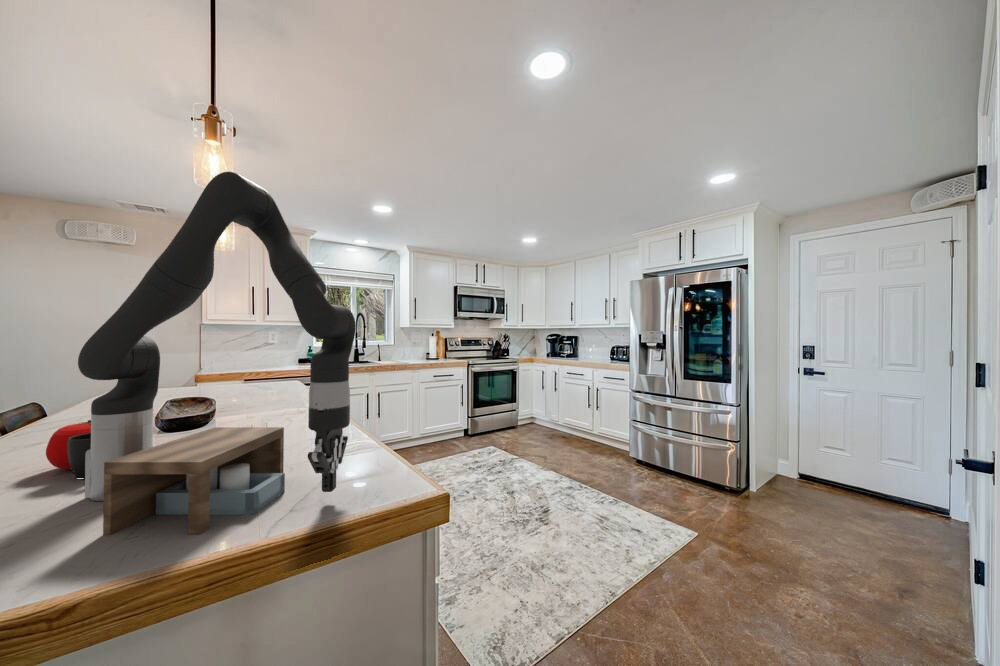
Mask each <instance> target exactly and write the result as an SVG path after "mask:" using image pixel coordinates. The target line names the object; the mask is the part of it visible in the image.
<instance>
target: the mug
mask: <svg viewBox="0 0 1000 666" xmlns="http://www.w3.org/2000/svg"><path fill="white" fill-rule="evenodd" d="M90 449H91V433H87V434H81V435H77V436H73V437H70V438H68V440H67V454H68V459H69V463H70V466H71V469H70V470H71V471H72V473H73V475H74V478H75V477H76V478H85V454H86V451H87V450H90ZM76 478H75V479H76Z"/></svg>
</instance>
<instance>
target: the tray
mask: <svg viewBox="0 0 1000 666" xmlns="http://www.w3.org/2000/svg"><path fill="white" fill-rule="evenodd" d="M285 478H286V475H285V472H283V473H250V464H247V463H238V464H232V465H228V466H225V467H223V468H221V469H220V473H217V467H215V468H213V469H211V470H210V514H209V516H212V515H213V516H220V515H222V516H223V515H225V516H226V515H229V516H231V515H233V516H234V515H235V516H237V515H238V516H239V515H240V516H244V515H245V516H246V515H250V516H251V515H255V514H257V513H259V511H261V510H262V509H263V508H265V507H266V506H267V505H269V504H270V503H272V502H273V501H275V500H276V499H277V498H278V497H280V496H281V495H282V493H283V492H284V493H285V489H286V488H285V483H286V482H285V481H286V479H285ZM188 487H189V474H186V480H184V481H182V482H179V483H177V484H175V485H173V486H171V487H168V488H166V489H164V490H162V491H160V492H158V493H156V512H155V516H178V515H179V516H184V515H185V516H188ZM284 493H283V494H284ZM279 495H280V496H279ZM275 498H276V499H275ZM271 501H272V502H271Z"/></svg>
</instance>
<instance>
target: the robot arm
mask: <svg viewBox="0 0 1000 666" xmlns="http://www.w3.org/2000/svg"><path fill="white" fill-rule="evenodd" d="M231 223H235V224H238V225H239V226H242V227H245V228H246V227H247V228H248V229H249V230H250V231H251V232H253V234H254V235H256V236H257V237H258V239H259V240H260V241H261V242H262V243H263V245H264V247H265V249H266V251H267V254H268V259H269V265H270V268H271V271H272V273H273V274H274V277H275V278H276V280H277V282H278V283H279V284H280V286H281V287H282V288H283V290H284V291H285V293H286V294H287V295H288V297H289V298H290V299H291V300H292V304H293V308H294V311H295V313H296V316H297V318H298V321H299V323H300V325H301V327H302V328H303V329H304V330H305V332H306V333H307V334H309V335H310V336H311V337H313V338H314V339H318V340H322V343H321V346H320V347H321V348H320V350H319V351H317V352H314V354H313V355H312V356H311V359H310V369H309V371H310V377H309V378H310V379H309V381H310V382H309V383H310V385H309V391H308V420H307V421H308V429H309V430H311V431H314V432H315V438H314V449H313V451H308V453H307V459H308V461H309V462H310V465H311V467H312V469H313V471H314V473H315V474H321V491H322V493H332V492H333V491H334V490H335V489H336V488H337V470H338V469H339V465H341V464H342V463H343V460H344V459H343V458H344V455H345V451H346V447H347V443H348V440H349V438H348V435H343V434H344V433H343V432H344V430H343V429H345V428H347V427H348V426H349V425H350V424H351V415H350V413H351V410H350V409H351V388H350V379H349V378H350V375H349V374H350V373H349V372H350V367H349V366H350V365H349V364H350V363H349V360H350V356H351V353H352V349H353V344H354V341H355V337H356V336H355V335H356V329H357V327H356V320H355V316H354V314H353V312H352V311H351V310H350V309H349V308H348V307H346V306H344V305H339V304H338V305H337V304H331V303H330V302H329V301H328V299H327V297H326V296H325V295H326V294H327V293H326V292H327V286H326V284H325V282H324V280H323V279H322V277H321V276H320V275H319V273H318V272H317V270H316V269H315V268H314V267H313V265H312V263H311V262H310V261H309V259H308V258H307V257H306V255H305V254H304V253H303V251H302V249H301V248H300V246H299V244H298V243H297V242H296V240H295V238H294V236H293V235H292V233H291V231H290V229H289V227H288V225H287V223H286V222H285V220H284V218H283V215H282V213H281V212H280V209H279V207H278V205H277V203H276V200H275V199H274V198H273V196H272V194H271V193H270V192H269V191H268V190H266V189H265V188H264V187H262V186H261V185H259V184H257V183H255V182H253V181H252V180H249V179H248V178H246V177H245V176H242V175H241V174H239V173H236V172H234V171H224V172H223V171H222V172H221V173H218V174H216V175H215V176H214V177H212V179H211V180H210V181H209V182H208V183H207V185H206V186H205V187H204V189H203V190H202V192H201V194H200V196H199V197H198V199H197V201H196V203H194V206H193V208H192V210H191V211H190V213H189V215H188V217H187V218H186V220H185V221H184V223H183V224H182V226H181V227H180V229H179V230H178V231H177V233H175V236H174V238H173V239H172V240H171V242H170V243H169V244H168V246H167V247H166V248H165V249H164V251H162V253H161V254H160V256H158V258H157V259H156V260H155V261H154V263H153V264H151V266H150V268H149V269H148V270H147V272H146V273H145V274H144V276H143V277H142V278H141V280H140V282H139V283H138V284H137V286H136V287H135V288H134V289H133V291H131V293H130V294H129V296H128V297H127V298H126V299H125V300H124V302H123V303H122V304H121V305H120V307H119V308H118V309H117V310H116V311H115V312H114V313H113V314H112V315H111V316H110V317H109V318H108V319H106V321H105V322H104V323H103V324H101V326H100V327H99V328H98V329H97V330H96V331H94V333H93V334H92V335H91V336H90V337H89V338H88V339H87V341H85V343H84V344H83V347H82V348H81V350H80V351H79V354H78V358H77V359H78V360H77V367H78V369H79V372H80V373H81V374H82V375H83V376H84V377H86V378H88V379H89V380H94V381H95V380H96V381H113V380H117V382H116V385H115V386H114V387H113V388H112V389H111V390H110V391H108V392H107V393H104V394H102V395H100V396H98V397H97V398H94V399H93V400H92V402H91V404H90V405H91V406H90V420H91V449H90V450H87V451H86V454H85V479H84V498H86V499H90V501H94V502H104V462H107V461H110V460H113V459H116V458H119V457H123V456H126V455H129V454H132V453H135V452H138V451H142V450H145V449H148V448H151V447H154V446H153V443H154V439H153V438H154V435H153V434H154V402H155V399H156V397H157V395H158V392H159V391H158V390H159V380H160V379H159V378H160V370H161V353H160V349H159V347H158V344H157V343H156V341H155V340H154V339H152V338H151V337H148V336H145V335H147V334H148V333H149V332H150V331H152V330H153V329H154V328H157V326H159V325H161V324H163V323H165V322H166V321H169V320H170V319H172V318H174V317H175V316H177V315H179V314H181V313H182V312H184V311H185V310H187V309H188V308H190V307H191V306H192V305H193V304H194V303H196V302H197V300H198V299H199V298H200V296H202V294H203V293H204V292H205V290H206V289H207V288H208V286H209V285H210V284H211V282H212V281H213V277H214V271H215V248H216V245H217V242H218V241H219V239H220V237H221V236H222V234H223V233H224V232H225V230H226V229H227V228H228V227H229V226H230V224H231Z"/></svg>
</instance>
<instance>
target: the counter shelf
mask: <svg viewBox="0 0 1000 666" xmlns="http://www.w3.org/2000/svg"><path fill="white" fill-rule="evenodd" d="M284 434H285V427H284V426H283V427H278V426H274V427H267V426H266V427H258V426H257V427H255V426H254V427H251V426H249V427H248V426H246V427H244V426H243V427H236V426H235V427H233V426H232V427H229V426H227V427H224V426H223V427H217V426H216V427H211V428H208V429H205V430H201V431H199V432H195V433H193V434H190V435H186V436H183V437H180V438H177V439H174V440H170V441H167V442H164V443H161V444H158V445H155V446H153V447H151V448H148V449H145V450H142V451H138V452H135V453H132V454H129V455H126V456H123V457H119V458H116V459H113V460H110V461H107V462H104V501H103V507H102V508H103V509H102V510H103V513H102V515H103V517H102V518H103V520H102V535H104V536H110V535H113V534H115V533H117V532H119V531H120V530H122V529H124V528H126V527H128V526H131V525H133V524H135V523H136V522H138V521H141V520H143V519H144V518H146V517H148V516H151V515H152V514H154V513H156V493H158V492H160V491H162V490H164V489H166V488H168V487H171V486H173V485H175V484H177V483H179V482H182V481H184V480H186V474H189V487H188V515H187V535H202V534H203V533H204V532H206V531H207V530H209V529H210V515H209V514H210V470H211V469H213V468H215V467H217V473H220V469H221V468H223V467H225V466H228V465H232V464H238V463H247V464H250V473H284V460H285V459H284V458H285V456H284V453H285V452H284V447H285V445H284V441H285V438H284V437H285V435H284Z"/></svg>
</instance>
